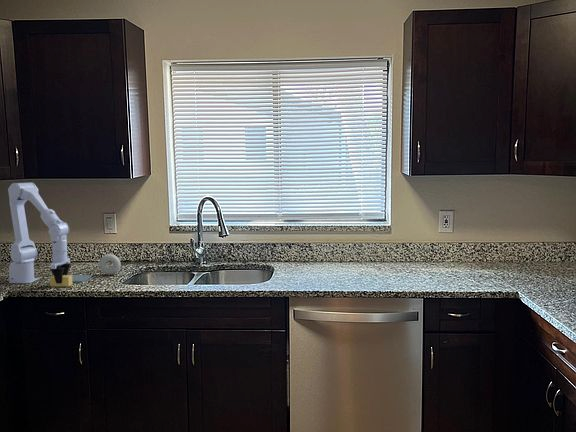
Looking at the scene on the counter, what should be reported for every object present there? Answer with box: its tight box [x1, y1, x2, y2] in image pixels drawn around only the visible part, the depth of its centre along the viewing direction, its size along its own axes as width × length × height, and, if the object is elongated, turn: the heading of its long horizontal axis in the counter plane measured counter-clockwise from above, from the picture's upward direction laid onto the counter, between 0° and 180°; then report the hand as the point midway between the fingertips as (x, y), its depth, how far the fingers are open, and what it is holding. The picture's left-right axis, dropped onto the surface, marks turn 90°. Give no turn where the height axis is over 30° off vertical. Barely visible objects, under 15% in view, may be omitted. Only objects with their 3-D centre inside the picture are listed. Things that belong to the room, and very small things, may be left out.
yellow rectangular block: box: [49, 274, 74, 287], centre depth 221 cm, size 8×4×4 cm, turn 90°
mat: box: [71, 274, 93, 284], centre depth 232 cm, size 14×12×1 cm
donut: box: [98, 253, 122, 276], centre depth 242 cm, size 10×4×10 cm, turn 92°
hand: (61, 282), depth 221 cm, fingers closed on yellow rectangular block, 4 cm apart
